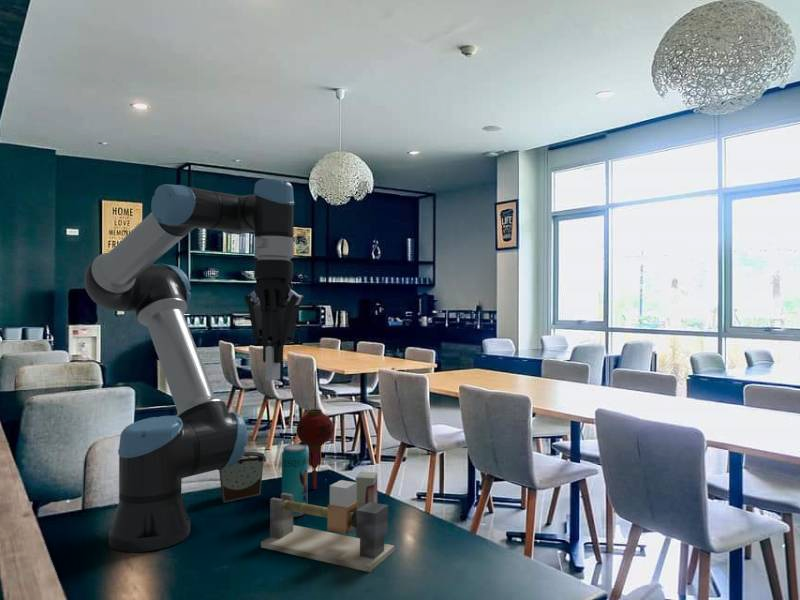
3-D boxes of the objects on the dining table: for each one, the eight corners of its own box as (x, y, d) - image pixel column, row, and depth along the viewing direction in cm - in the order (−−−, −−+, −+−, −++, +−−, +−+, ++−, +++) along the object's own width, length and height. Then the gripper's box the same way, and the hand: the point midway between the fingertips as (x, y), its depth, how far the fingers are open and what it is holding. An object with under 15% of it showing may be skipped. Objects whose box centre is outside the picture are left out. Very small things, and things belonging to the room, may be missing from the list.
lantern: (320, 480, 158) (321, 368, 158) (340, 489, 151) (341, 371, 151) (288, 487, 152) (289, 370, 152) (308, 497, 145) (309, 374, 145)
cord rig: (260, 547, 115) (261, 498, 115) (291, 529, 124) (291, 484, 124) (369, 572, 105) (370, 518, 105) (394, 550, 114) (394, 501, 114)
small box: (373, 513, 134) (374, 478, 134) (355, 512, 135) (355, 477, 135) (377, 505, 139) (377, 471, 139) (359, 504, 140) (359, 471, 140)
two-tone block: (327, 530, 112) (327, 486, 112) (340, 522, 116) (341, 479, 116) (345, 534, 110) (346, 489, 110) (358, 525, 114) (358, 482, 114)
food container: (254, 487, 152) (254, 448, 152) (265, 493, 147) (266, 453, 147) (207, 497, 144) (208, 456, 144) (217, 504, 139) (218, 461, 139)
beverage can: (302, 519, 130) (302, 450, 130) (277, 517, 131) (277, 449, 131) (311, 510, 136) (311, 444, 136) (287, 508, 137) (287, 443, 137)
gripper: (234, 259, 116) (233, 379, 116) (289, 257, 110) (288, 384, 110) (259, 261, 123) (258, 375, 123) (312, 260, 117) (311, 379, 117)
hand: (272, 379), depth 117 cm, fingers closed
